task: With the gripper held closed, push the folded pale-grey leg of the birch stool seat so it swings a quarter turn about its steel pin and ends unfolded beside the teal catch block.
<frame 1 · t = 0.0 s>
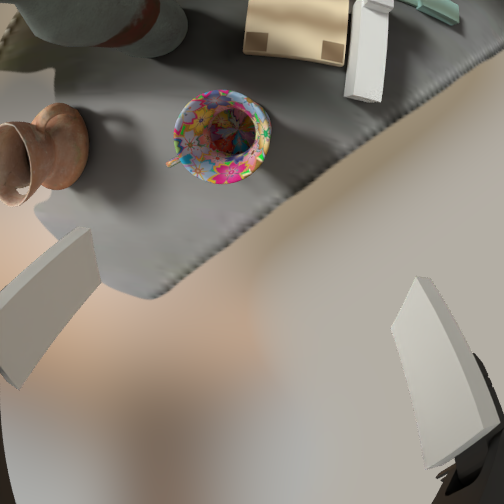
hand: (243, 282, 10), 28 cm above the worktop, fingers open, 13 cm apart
bottle: (161, 32, 27), on the worktop
hinged leg: (370, 33, 21), point 4 cm above the worktop, hinge at 0.0°
stool seat: (297, 19, 25), on the worktop
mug: (229, 133, 34), on the worktop
ceramic jug: (68, 140, 36), on the worktop
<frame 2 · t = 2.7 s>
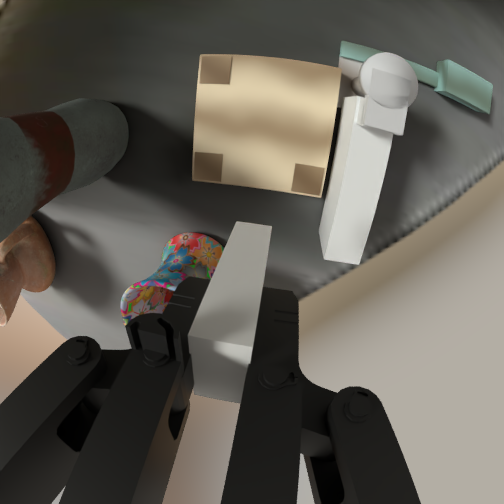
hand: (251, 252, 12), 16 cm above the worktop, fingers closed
bottle: (101, 135, 26), on the worktop
hinged leg: (361, 160, 20), point 4 cm above the worktop, hinge at 0.0°
stool seat: (264, 121, 24), on the worktop
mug: (189, 264, 33), on the worktop
ceramic jug: (35, 240, 35), on the worktop
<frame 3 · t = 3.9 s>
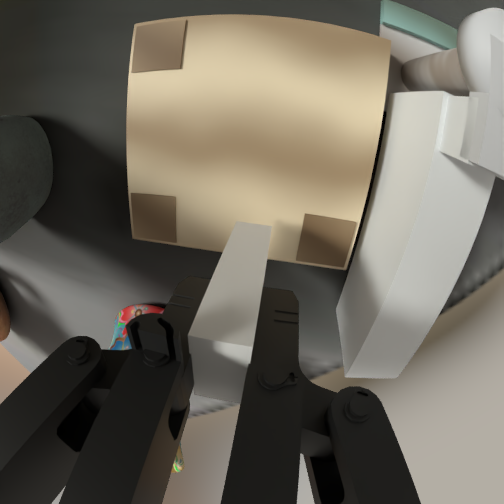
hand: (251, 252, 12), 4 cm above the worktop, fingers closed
bottle: (25, 163, 16), on the worktop
hinged leg: (429, 218, 10), point 4 cm above the worktop, hinge at 0.0°
stool seat: (249, 133, 13), on the worktop
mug: (153, 337, 23), on the worktop
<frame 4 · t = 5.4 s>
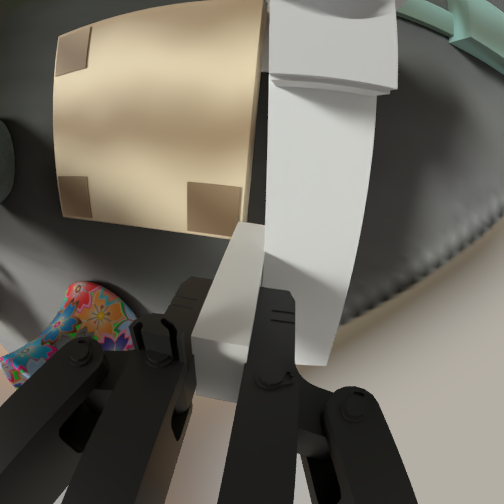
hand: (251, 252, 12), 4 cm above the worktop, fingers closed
hinged leg: (314, 171, 10), point 4 cm above the worktop, hinge at 4.5°, touching gripper
stool seat: (149, 115, 13), on the worktop
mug: (100, 316, 23), on the worktop
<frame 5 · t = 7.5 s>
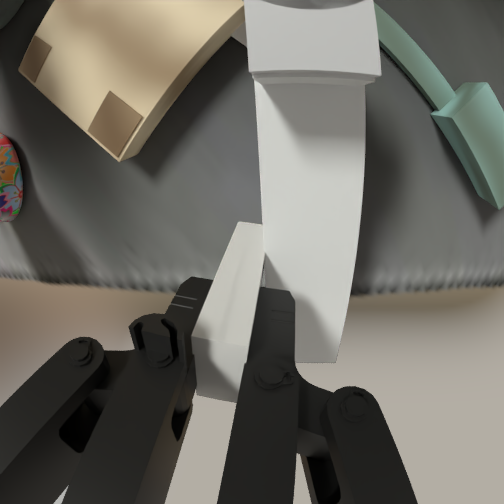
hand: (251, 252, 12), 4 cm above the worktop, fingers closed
hinged leg: (310, 167, 10), point 4 cm above the worktop, hinge at 45.3°, touching gripper
stool seat: (127, 23, 10), on the worktop
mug: (0, 172, 17), on the worktop
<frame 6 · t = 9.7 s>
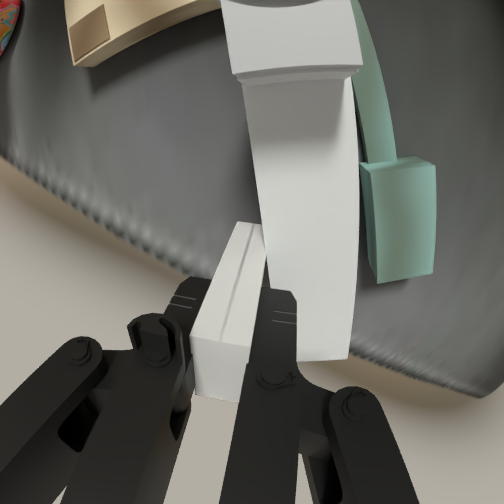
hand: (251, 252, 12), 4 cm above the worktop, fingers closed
hinged leg: (305, 164, 10), point 4 cm above the worktop, hinge at 83.6°, touching gripper
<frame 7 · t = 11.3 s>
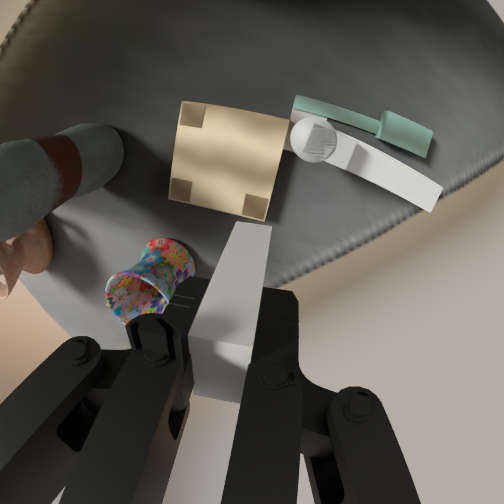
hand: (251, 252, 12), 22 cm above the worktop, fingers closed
bottle: (102, 152, 33), on the worktop
hinged leg: (369, 162, 25), point 4 cm above the worktop, hinge at 83.6°
stool seat: (227, 157, 31), on the worktop
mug: (162, 263, 40), on the worktop
ceramic jug: (37, 229, 41), on the worktop
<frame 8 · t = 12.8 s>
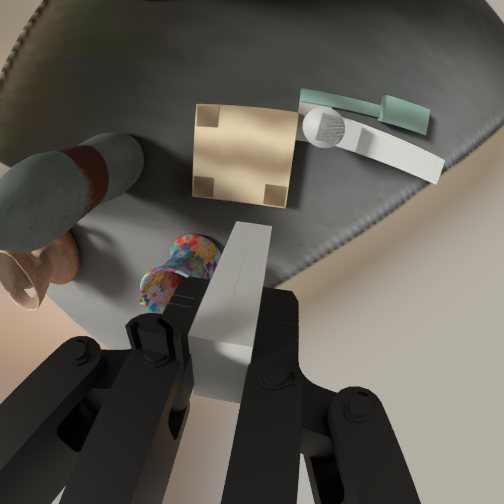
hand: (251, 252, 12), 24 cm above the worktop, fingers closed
bottle: (122, 159, 36), on the worktop
hinged leg: (375, 143, 27), point 4 cm above the worktop, hinge at 83.6°
stool seat: (244, 152, 34), on the worktop
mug: (190, 259, 43), on the worktop
ceramic jug: (60, 241, 45), on the worktop
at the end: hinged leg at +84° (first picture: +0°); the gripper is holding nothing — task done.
